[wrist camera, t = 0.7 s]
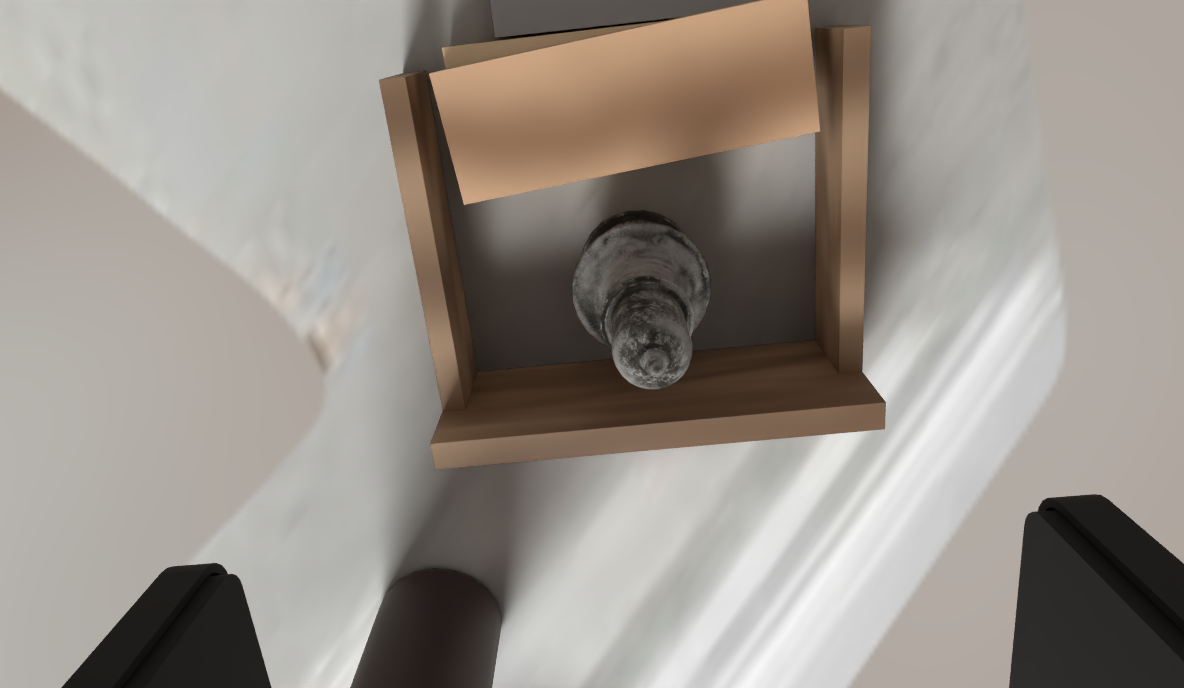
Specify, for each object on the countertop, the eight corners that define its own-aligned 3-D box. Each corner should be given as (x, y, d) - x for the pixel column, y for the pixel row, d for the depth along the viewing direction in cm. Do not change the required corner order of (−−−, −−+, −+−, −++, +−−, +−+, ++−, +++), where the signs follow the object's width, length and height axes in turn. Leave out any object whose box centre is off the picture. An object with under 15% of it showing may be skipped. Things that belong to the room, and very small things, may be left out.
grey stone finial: (693, 194, 36) (738, 271, 25) (707, 316, 38) (754, 438, 27) (563, 215, 36) (550, 300, 25) (584, 334, 38) (581, 462, 27)
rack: (402, 73, 34) (356, 85, 27) (840, 25, 33) (900, 26, 27) (463, 410, 40) (438, 486, 33) (835, 375, 39) (884, 446, 32)
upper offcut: (440, 70, 32) (429, 73, 30) (790, -7, 31) (806, -10, 29) (472, 192, 34) (463, 204, 31) (803, 123, 33) (820, 131, 30)
